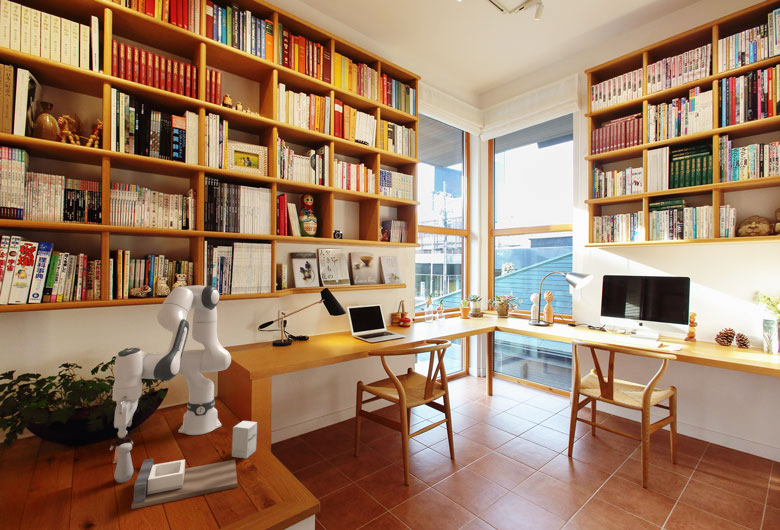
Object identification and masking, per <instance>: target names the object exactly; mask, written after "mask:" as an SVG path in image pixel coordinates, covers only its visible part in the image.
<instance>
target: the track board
mask: <svg viewBox="0 0 780 530" xmlns="http://www.w3.org/2000/svg"><path fill="white" fill-rule="evenodd" d="M153 465H154V458H153V457H152V458H147V459H144V460H143V461H142V465H141V467H140V469H139V473H138V475H137V477H136V480H135V483H134V485H133V498H132V499H133V500H132V501H131V508H130V509H131V510H136V509H139V508H140V509H141V508H144V507H149V506H154V505H159V504H164V503H167V502H175V501H177V500H183V499H188V498H191V497H192V498H193V497H197V496H201V495H206V494H211V492H212V493H215V492H221V491H226V490H229V489H235V488H236V489H237V488H238V476H237V475H238V474H237V467H236V466H237V465H236V459H231V460H225V461H220V462H215V463H209V464H204V465H203V464H202V465H198V466H192V467H187V468H186V467H185V473H184V480H183V486H182V488H178V489H173V490H168V491H163V492H158V493H153V494H148V495H147V491H148V478H149V475H150V472H151V469H152V466H153Z"/></svg>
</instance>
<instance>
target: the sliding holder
mask: <svg viewBox="0 0 780 530" xmlns="http://www.w3.org/2000/svg"><path fill="white" fill-rule="evenodd" d="M185 469H186V459H181V460H179V459H178V460H173V461H169V462H162V463H157V464H156V463H155V464H153V466H152V469H151V472H150V475H149V478H148V491H147V495H148V494H153V493H158V492H163V491H168V490H173V489H178V488H182V486H183V480H184V473H185Z"/></svg>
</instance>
